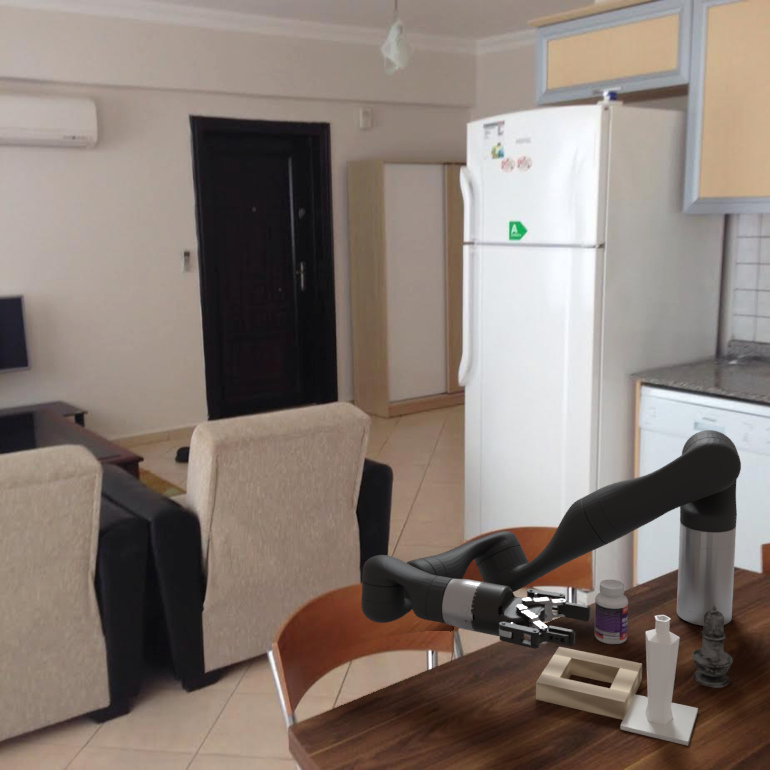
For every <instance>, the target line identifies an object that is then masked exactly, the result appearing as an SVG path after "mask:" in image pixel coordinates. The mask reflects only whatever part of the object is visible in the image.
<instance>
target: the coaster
mask: <svg viewBox="0 0 770 770" xmlns="http://www.w3.org/2000/svg"><path fill="white" fill-rule="evenodd" d="M647 704H648V696H644V695H640V694H637V693H636V694H634V696H633V698H632V700H631V703H630V705H629V707H628V709H627V712H626V714H625V716H624V719H623V720H622V721H621V723H620V730H621V731H626V732H630V733H634V734H638V735H642V736H646V737H650V738H655V739H659V740H662V741H666V742H670V743H671V742H672V743H674V744H675V743H676V744H680V745H684V746H689V743H690V740H691V737H692V733H693V730H694V726H695V723H696V720H697V715H698V713H699V708H698V707H695V706H689V705H685V704H681V703H680V704H679V703H676V702H672V703H671V710H672V714H673V719H672V720H671V721H670V722H669V723H668V724H666V725H663V724H659V723H654V722H650V721H648V720H647V718H646V714H645V710H646V707H647Z"/></svg>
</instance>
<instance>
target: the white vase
mask: <svg viewBox="0 0 770 770" xmlns="http://www.w3.org/2000/svg"><path fill="white" fill-rule="evenodd" d="M654 619H655V628H654V629H650V630H646V631H645V651H646V652H645V657H646V658H645V659H646V661H645V662H646V683H647V687H646V688H647V697H648V704H647V707H646V710H645V714H646V718H647V720H648V721H650V722H654V723H659V724H663V725H666V724H668V723H669V722H670V721H671V720H672V719H673V714H672V710H671V703H673V702H672V701H673V693H674V686H675V677H676V671H677V670H676V669H677V664H678V663H677V662H678V653H679V647H680V646H679V645H680V639H681V638H680V636H678V635H676V634H675V633H673V632H671V631H670V627H671V626H670V624H671V621H670V620H672V618H670V617H669V616H667V615H666V614H658V615H654Z"/></svg>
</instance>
